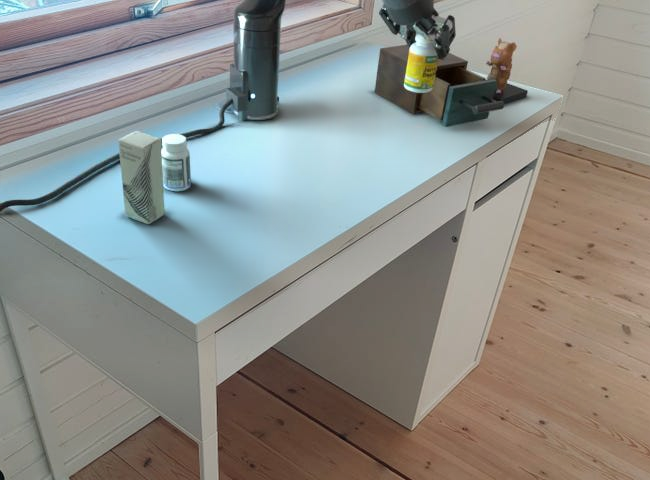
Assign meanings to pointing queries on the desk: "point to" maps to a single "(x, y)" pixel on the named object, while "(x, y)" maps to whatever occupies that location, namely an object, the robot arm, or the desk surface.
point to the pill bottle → (175, 163)
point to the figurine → (504, 73)
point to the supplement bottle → (421, 65)
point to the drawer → (459, 97)
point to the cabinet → (403, 76)
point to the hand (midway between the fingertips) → (429, 50)
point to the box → (142, 176)
